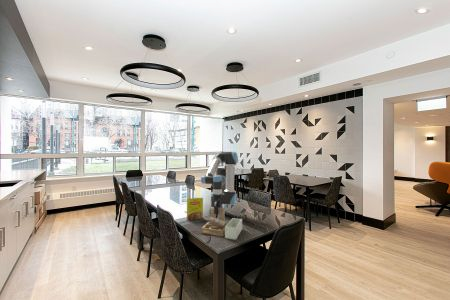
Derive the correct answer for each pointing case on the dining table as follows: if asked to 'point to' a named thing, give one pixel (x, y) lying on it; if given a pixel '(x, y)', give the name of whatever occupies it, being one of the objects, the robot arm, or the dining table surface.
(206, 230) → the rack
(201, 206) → the food package
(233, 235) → the tote
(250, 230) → the dining table surface
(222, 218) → the board
